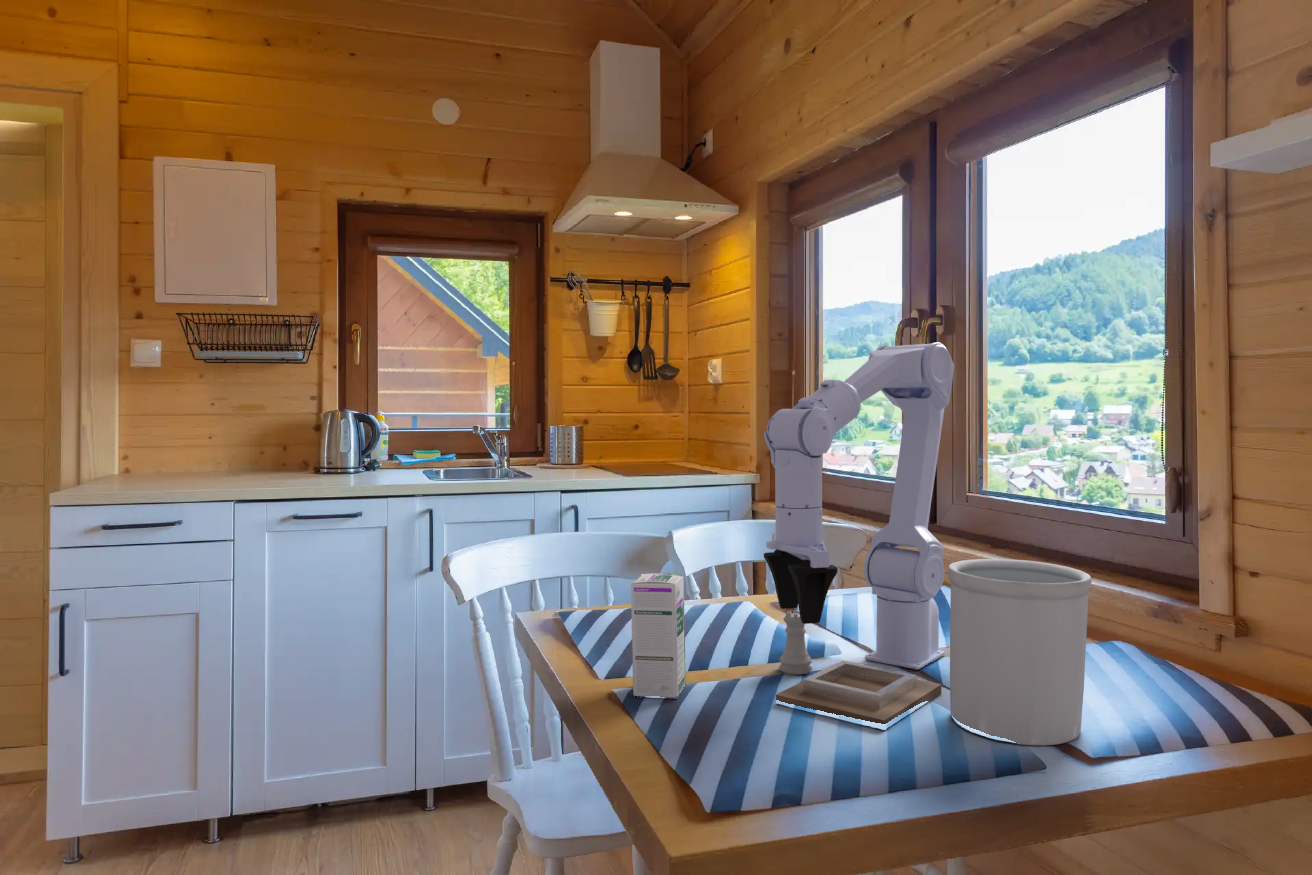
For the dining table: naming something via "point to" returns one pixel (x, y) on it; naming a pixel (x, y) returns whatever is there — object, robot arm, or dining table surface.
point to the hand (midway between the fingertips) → (799, 615)
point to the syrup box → (658, 635)
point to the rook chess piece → (795, 647)
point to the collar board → (860, 692)
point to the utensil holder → (1018, 648)
